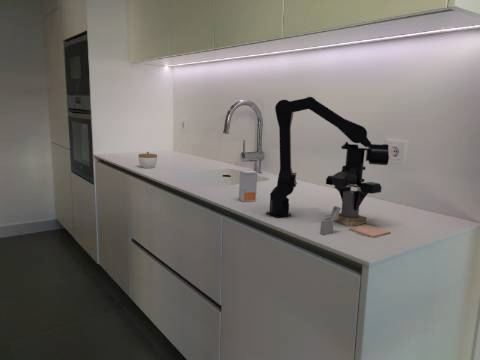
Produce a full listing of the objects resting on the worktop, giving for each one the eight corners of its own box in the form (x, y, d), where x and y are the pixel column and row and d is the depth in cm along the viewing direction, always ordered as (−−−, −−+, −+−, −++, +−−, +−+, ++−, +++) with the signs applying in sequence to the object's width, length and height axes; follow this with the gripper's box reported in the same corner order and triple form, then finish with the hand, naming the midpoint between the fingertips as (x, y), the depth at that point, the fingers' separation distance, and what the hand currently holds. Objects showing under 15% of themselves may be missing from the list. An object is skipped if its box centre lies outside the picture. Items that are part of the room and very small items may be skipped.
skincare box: (242, 202, 158) (243, 172, 156) (238, 199, 162) (239, 170, 160) (256, 201, 161) (257, 171, 159) (252, 199, 165) (253, 170, 163)
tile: (348, 230, 126) (348, 228, 126) (366, 226, 132) (366, 224, 132) (373, 238, 119) (373, 236, 119) (390, 233, 125) (390, 231, 125)
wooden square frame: (332, 220, 137) (332, 214, 137) (347, 217, 142) (347, 211, 142) (351, 226, 131) (351, 220, 131) (366, 222, 136) (366, 217, 135)
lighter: (324, 235, 120) (326, 209, 119) (319, 233, 121) (321, 208, 120) (338, 231, 124) (341, 206, 123) (334, 230, 126) (336, 205, 124)
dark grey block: (340, 219, 137) (343, 191, 135) (348, 218, 139) (350, 190, 137) (350, 222, 134) (353, 193, 132) (357, 221, 136) (360, 192, 134)
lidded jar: (141, 169, 230) (141, 153, 228) (136, 166, 239) (136, 150, 237) (159, 168, 235) (159, 152, 233) (153, 166, 244) (154, 150, 242)
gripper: (316, 160, 136) (313, 205, 138) (363, 168, 121) (358, 218, 124) (338, 159, 142) (334, 202, 145) (384, 166, 128) (379, 214, 130)
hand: (350, 208), depth 136 cm, fingers closed on dark grey block, 4 cm apart
